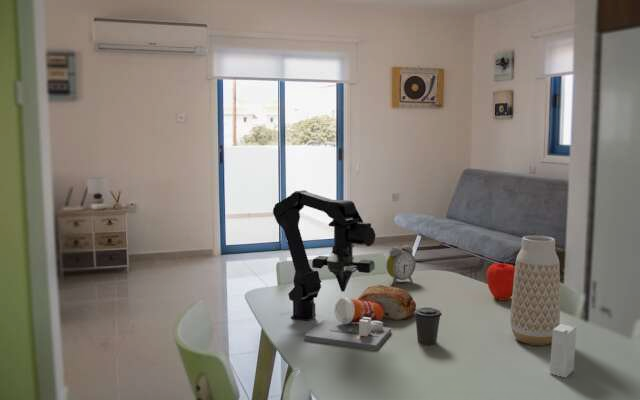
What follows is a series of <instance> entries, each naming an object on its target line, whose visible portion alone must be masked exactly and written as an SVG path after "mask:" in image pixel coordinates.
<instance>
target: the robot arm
mask: <svg viewBox="0 0 640 400" xmlns="http://www.w3.org/2000/svg"><path fill="white" fill-rule="evenodd" d="M304 207H309V208H312V209H315V210H318V211H321V212H323V213H325V214H326V216H327V217H329V218H330V219H332V220H331V222H329V223H328V226H329V227H332V228H333V245H332V250H331V253H330V254H329V256H327V255H319V256H316V257H314V258H313V259H312V261H311V265H310V262H309V260H308V259H309V258H308V255H307V252H306V249H305V245H304V242H303V238H302V235H301V230H300V228H299V224H300V218H301V213H300V211H301V210H302V209H304ZM272 214H273V216H274V219H275V221H276V223H277V224H278V225H279V226H280V227H281V228H282V229H283V232H284V234H285V238H286V242H287V247H288V249H289V253H290V257H291V260H292V264H293V268H294V271H295V272H294V275H293V276H294V277H293V286H294V287H293V288H292V289H291V290H290V291H289V292H288V298H289V301H292V315H291V316H290V319H294V320H302V321H303V320H304V321H310V320H311V319H312V318H314V317H315V316H316V315H317V314H316V303H315V299H316V298H318V295H319V293H320V291H321V289H322V284H321V283H322V280H321V278H320V273H319V271H318V270H314V269H322V268H324V266H326V267H327V269H328V271H329V272H330V273H332V274H333V275H334V276H335V278H336V280H337V283H338V286H339V288H340V292H343V293H344V292H345V291H346V289H347V286H348V283H349V281H350V279H351V277H352V275H353V273H355V272H357V271H358V273H361V274H362V273H364V274H365V273H366V274H368V273H369V274H370V273H372V272H373V271H374V270H375V266H376V265H375V264H376V263H375V262H374V260H372V259H361V260H358V261H354V256H353V253H354V252H353V251H354V250H353V249H354V247H355V245H357V246H358V245H360V246H364V247H371V246H373V244H374V242H375V240H376V232H375V230H374V228H373V227H372V223H371V222H364V221H363V219H362V217H361V215H360V213H359V211H358V209H357V208H356V205H355V202H354V201H351V200H347V199H331V198H327V197H324V196H321V195H318V194H317V193H316V194H315V193H311V192H309V191H307V190H305V189H304V190H296V191H294V192H292V193H291V194H290V195H289V196H286V197H285V198H284V199H282V200H281V201H279V202H277V203H275V204H274V207H273V209H272ZM312 268H313V269H312Z"/></svg>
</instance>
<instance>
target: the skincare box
mask: <svg viewBox="0 0 640 400" xmlns="http://www.w3.org/2000/svg"><path fill="white" fill-rule="evenodd" d="M576 340H577V326H574V325H573V326H572V325H569V324H563V323H560V324H559V326H557V327H556V328H555V329H553V335H552V342H551V347H550V348H551V349H550V350H551V351H550V361H549V362H550V363H549V364H550V366H549V374H550V375H552V374H553V376H555V375H557V376H556V377H559V376H561V377H560V378H563V377H564V379H565V378H566V379H567V377H568V376H569V375H570V374H571V373H572V372H573V371H574V369H575V368H574V366H575V355H576V354H575V353H576Z"/></svg>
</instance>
